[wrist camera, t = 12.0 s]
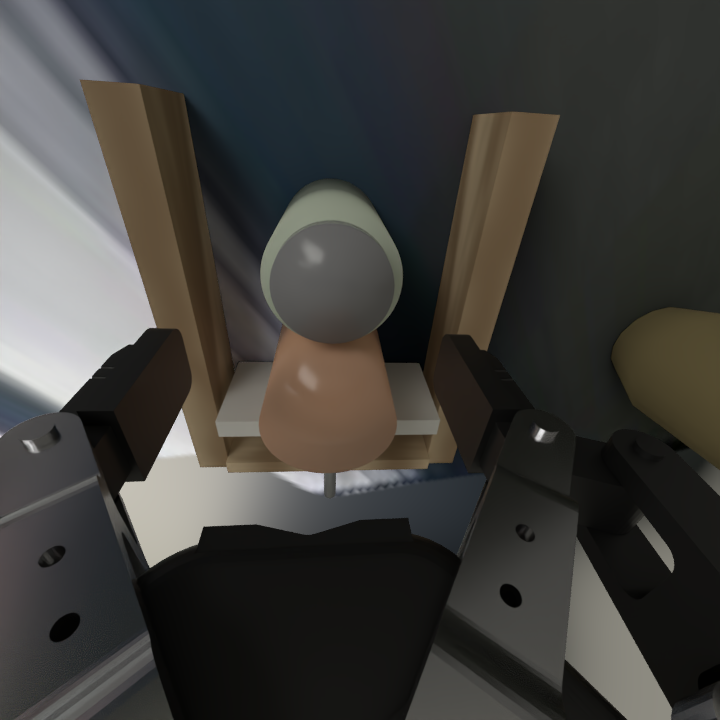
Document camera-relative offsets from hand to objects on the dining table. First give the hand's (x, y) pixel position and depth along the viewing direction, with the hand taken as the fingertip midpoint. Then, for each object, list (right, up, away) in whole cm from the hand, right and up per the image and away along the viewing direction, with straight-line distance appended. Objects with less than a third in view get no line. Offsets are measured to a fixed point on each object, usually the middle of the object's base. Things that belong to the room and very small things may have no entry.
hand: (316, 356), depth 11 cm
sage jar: (0, +7, +9) cm, 12 cm away
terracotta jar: (-1, +2, +12) cm, 13 cm away
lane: (0, +4, +12) cm, 12 cm away
